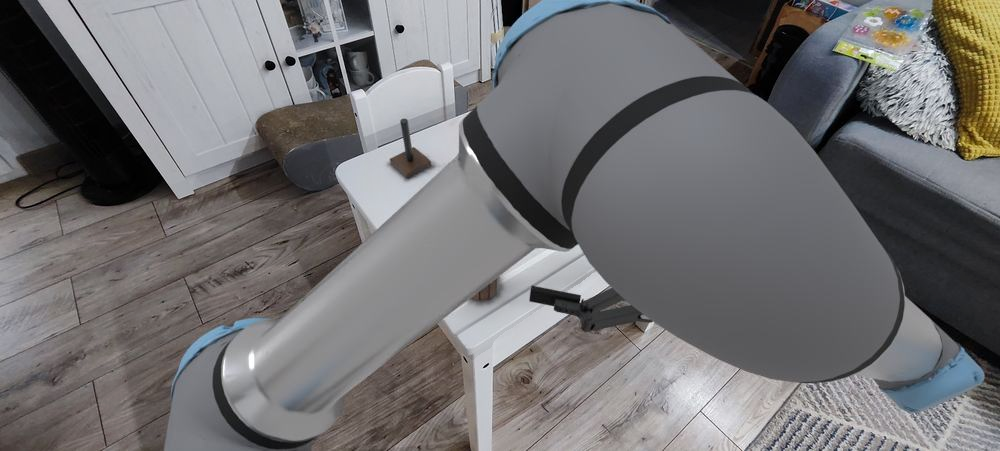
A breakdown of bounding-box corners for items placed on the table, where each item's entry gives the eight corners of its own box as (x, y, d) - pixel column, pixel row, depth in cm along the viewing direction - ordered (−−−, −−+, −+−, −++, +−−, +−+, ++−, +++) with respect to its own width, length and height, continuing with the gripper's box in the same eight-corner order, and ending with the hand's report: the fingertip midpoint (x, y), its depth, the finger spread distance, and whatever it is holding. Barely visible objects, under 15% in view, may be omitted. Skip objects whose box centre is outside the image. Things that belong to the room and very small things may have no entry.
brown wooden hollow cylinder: (479, 307, 72) (478, 251, 61) (457, 285, 74) (452, 228, 64) (505, 288, 74) (508, 231, 64) (483, 267, 77) (482, 209, 67)
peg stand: (407, 179, 91) (399, 134, 83) (390, 164, 94) (381, 119, 86) (431, 166, 94) (426, 121, 86) (414, 152, 97) (408, 107, 89)
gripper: (687, 380, 57) (520, 344, 60) (680, 234, 73) (549, 211, 76) (709, 353, 51) (524, 314, 54) (695, 201, 68) (554, 177, 71)
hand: (538, 254), depth 65 cm, fingers open, 13 cm apart
